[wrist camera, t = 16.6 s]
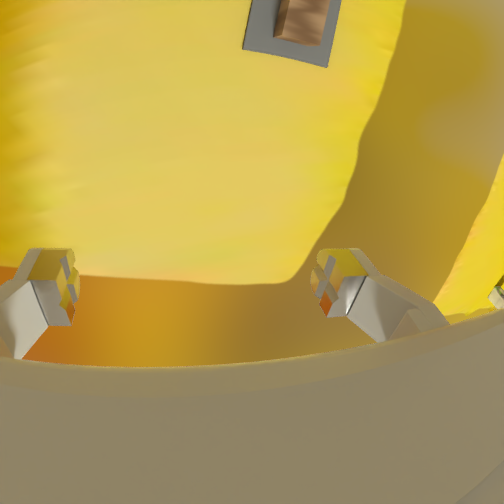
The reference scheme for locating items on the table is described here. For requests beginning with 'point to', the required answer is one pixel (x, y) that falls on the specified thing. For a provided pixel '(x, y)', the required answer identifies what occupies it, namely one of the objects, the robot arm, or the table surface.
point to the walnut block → (301, 21)
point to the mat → (262, 40)
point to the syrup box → (497, 297)
